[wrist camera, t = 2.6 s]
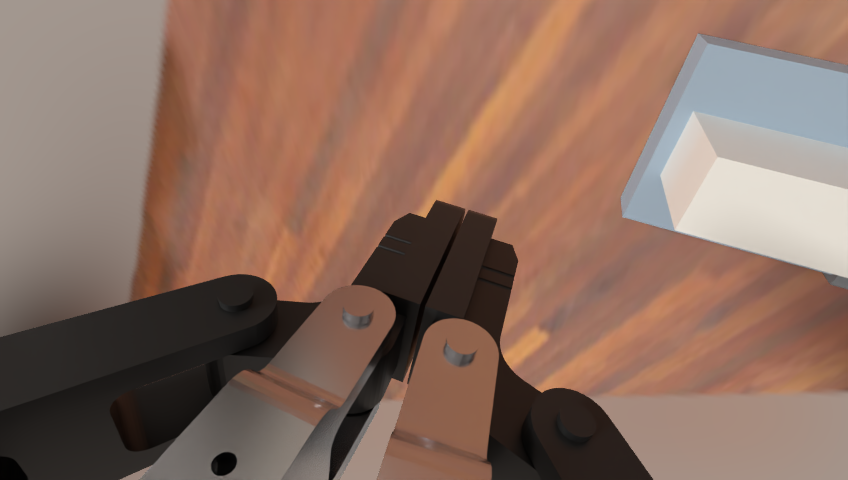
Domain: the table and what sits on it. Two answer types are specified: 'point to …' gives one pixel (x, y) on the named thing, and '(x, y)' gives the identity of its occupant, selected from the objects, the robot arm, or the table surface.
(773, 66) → the plate
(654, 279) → the table surface
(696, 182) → the white rectangular block
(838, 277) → the tray
